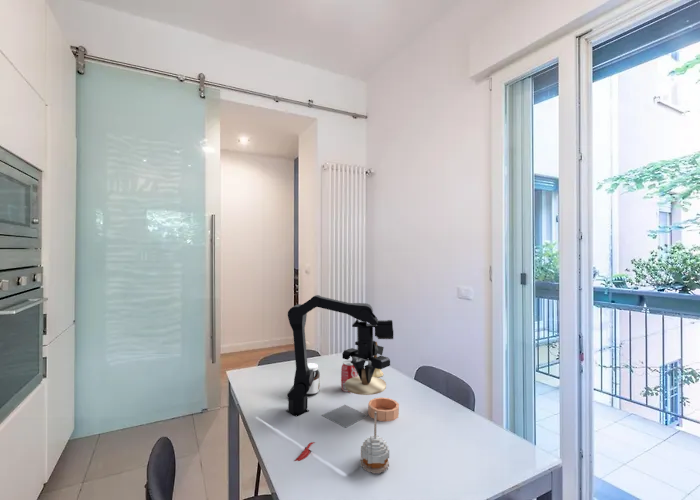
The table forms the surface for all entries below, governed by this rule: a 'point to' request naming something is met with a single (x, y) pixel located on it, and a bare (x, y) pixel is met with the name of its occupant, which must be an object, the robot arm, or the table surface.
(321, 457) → the table surface
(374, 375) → the hand bell
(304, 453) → the cayenne pepper
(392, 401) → the bowl
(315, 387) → the spread jar
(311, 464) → the table surface
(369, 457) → the decorative ornament
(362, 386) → the lid
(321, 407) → the table surface
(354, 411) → the mat
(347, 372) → the soda can
